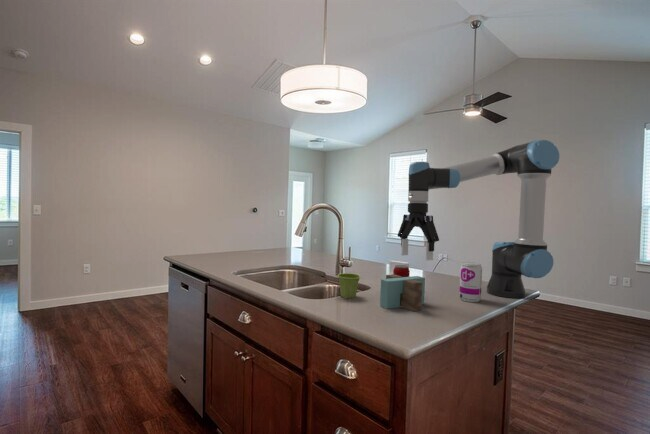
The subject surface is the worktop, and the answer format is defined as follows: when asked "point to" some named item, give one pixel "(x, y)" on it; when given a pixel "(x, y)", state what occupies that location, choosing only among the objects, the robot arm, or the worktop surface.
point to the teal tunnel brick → (396, 290)
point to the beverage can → (401, 270)
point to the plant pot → (348, 284)
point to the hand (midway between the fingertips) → (416, 257)
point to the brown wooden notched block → (410, 294)
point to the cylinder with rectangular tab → (394, 263)
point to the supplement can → (470, 281)
